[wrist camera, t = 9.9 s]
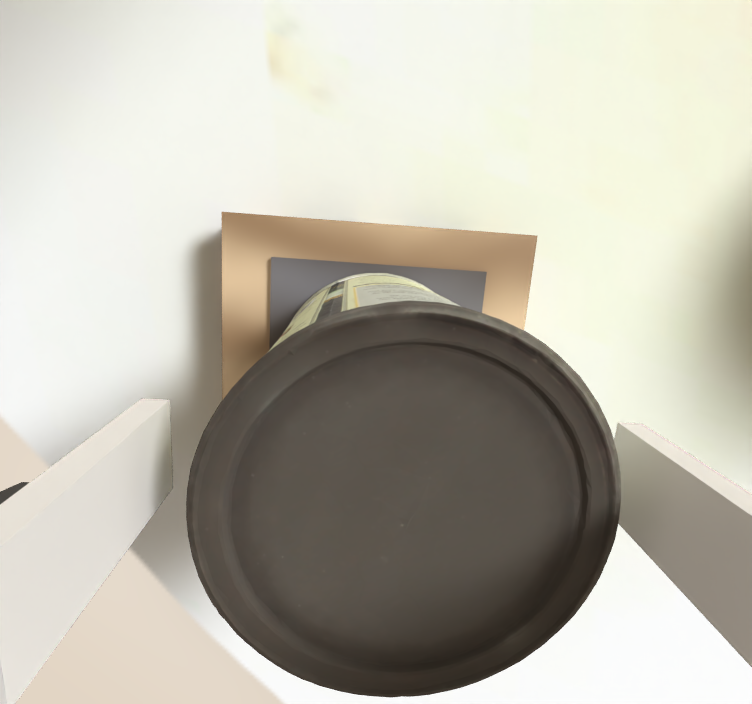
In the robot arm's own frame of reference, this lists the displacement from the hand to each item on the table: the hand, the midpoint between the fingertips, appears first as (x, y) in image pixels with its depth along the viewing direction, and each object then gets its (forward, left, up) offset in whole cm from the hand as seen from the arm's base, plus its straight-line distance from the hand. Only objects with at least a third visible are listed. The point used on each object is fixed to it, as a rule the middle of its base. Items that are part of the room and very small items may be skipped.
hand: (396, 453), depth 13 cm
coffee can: (0, 0, -11) cm, 11 cm away
